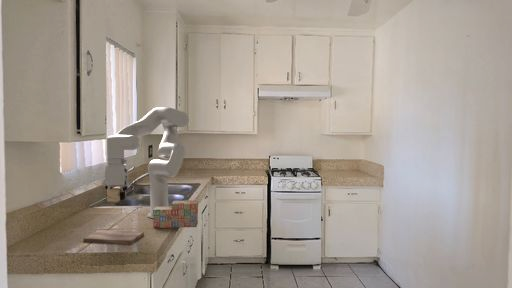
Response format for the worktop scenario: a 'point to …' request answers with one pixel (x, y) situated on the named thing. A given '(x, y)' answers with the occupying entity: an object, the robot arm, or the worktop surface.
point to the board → (114, 237)
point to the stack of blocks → (176, 215)
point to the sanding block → (114, 195)
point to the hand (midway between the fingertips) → (117, 199)
